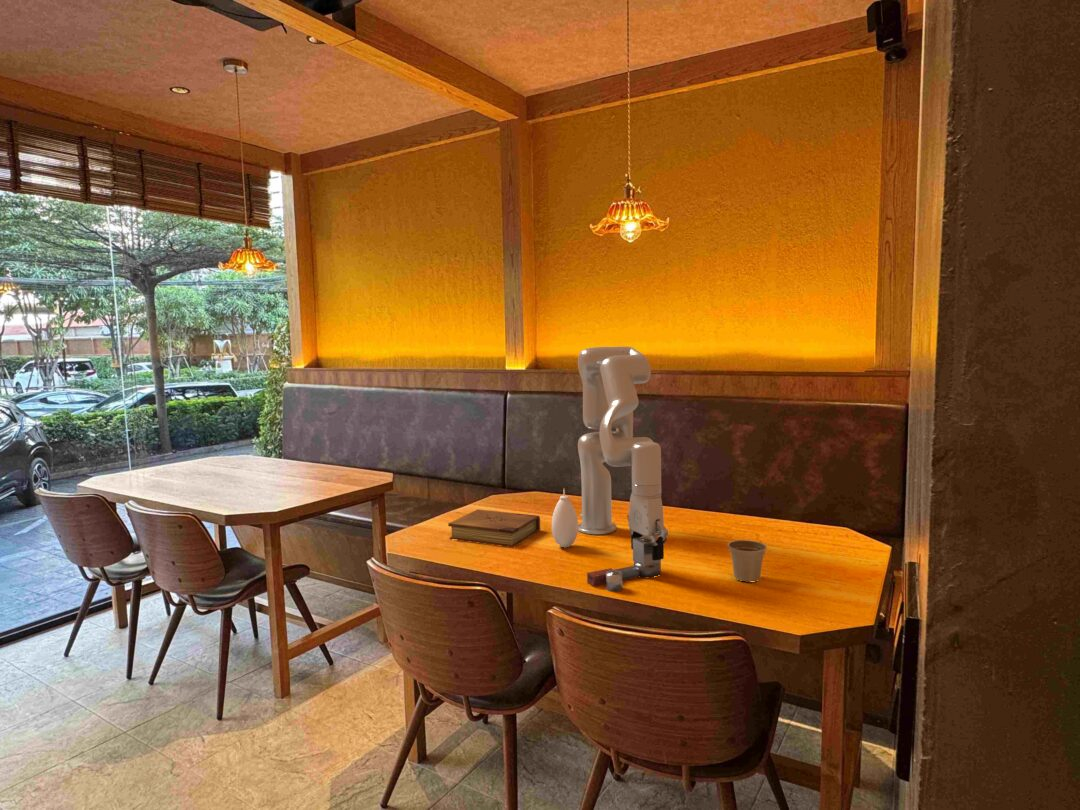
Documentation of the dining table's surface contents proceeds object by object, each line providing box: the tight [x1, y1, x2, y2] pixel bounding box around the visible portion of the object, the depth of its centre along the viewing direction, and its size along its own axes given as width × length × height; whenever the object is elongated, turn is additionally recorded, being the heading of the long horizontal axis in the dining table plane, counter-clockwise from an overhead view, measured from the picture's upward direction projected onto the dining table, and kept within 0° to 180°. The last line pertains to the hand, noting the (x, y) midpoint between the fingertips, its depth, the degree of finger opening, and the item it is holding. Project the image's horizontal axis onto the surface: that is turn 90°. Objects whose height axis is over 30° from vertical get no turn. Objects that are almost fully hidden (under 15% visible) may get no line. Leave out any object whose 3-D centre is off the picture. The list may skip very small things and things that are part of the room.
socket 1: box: [605, 569, 623, 593], centre depth 161 cm, size 4×4×4 cm
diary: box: [447, 509, 541, 548], centre depth 209 cm, size 23×19×6 cm
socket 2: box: [632, 536, 662, 567], centre depth 171 cm, size 5×5×6 cm
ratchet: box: [586, 561, 662, 588], centre depth 168 cm, size 7×20×6 cm, turn 114°
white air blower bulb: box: [551, 488, 579, 549], centre depth 194 cm, size 8×8×18 cm
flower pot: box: [727, 539, 768, 583], centre depth 165 cm, size 9×9×9 cm
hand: (647, 554), depth 171 cm, fingers open, 9 cm apart
